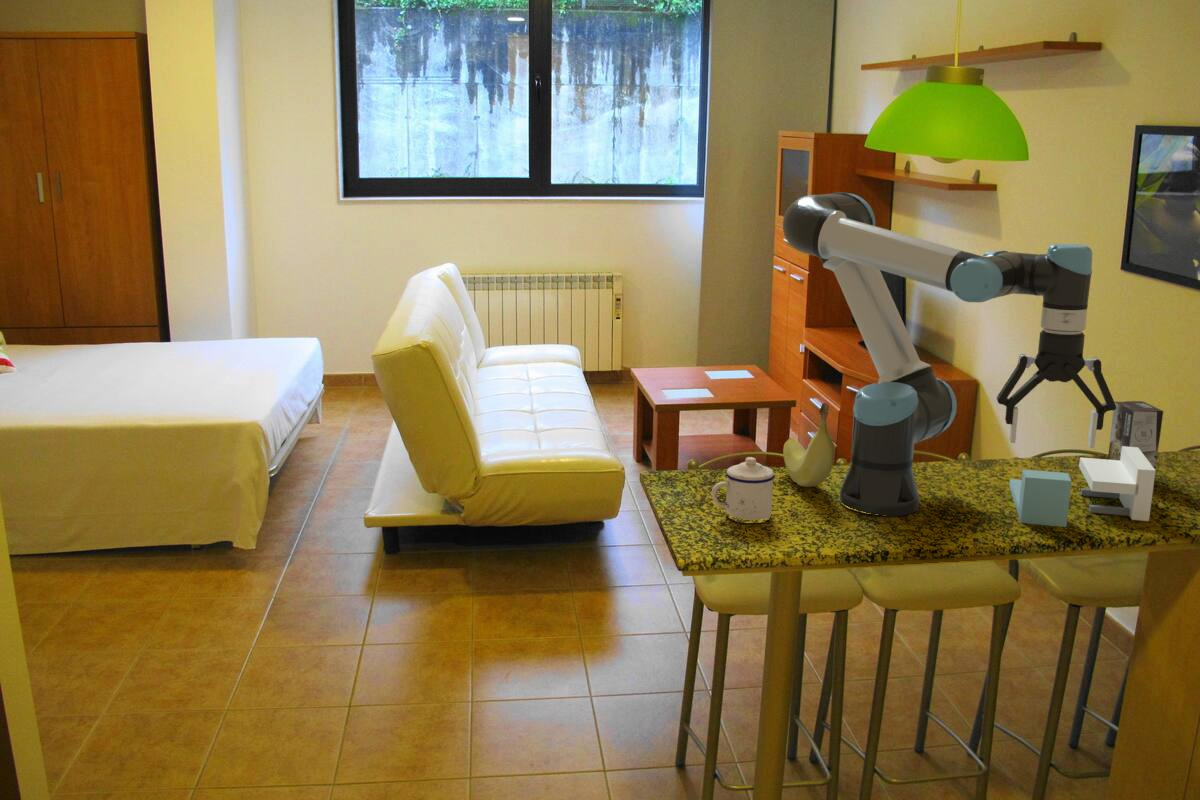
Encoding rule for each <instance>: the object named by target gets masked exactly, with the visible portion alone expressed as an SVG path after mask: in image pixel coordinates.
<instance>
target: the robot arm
mask: <svg viewBox="0 0 1200 800" xmlns="http://www.w3.org/2000/svg"><path fill="white" fill-rule="evenodd" d="M782 231H783V235H784V237H785V239H786V241H787V242H788V244H789V245H790V246H791V247H792V249H795V250H796V251H798V252H800V253H803V254H807V255H810V256H813V257H814V256H815V257H818V258H819V260H820V263H821V265H822V267H823V268H824V269H827V270H830V271H831V272H833V273H834V276H835V278H836V280H837V283H838V285H839V286H840V289H841V292H842V294H843V296H844V299H845V301H846V302H847V303H846V304H847V305H848V307H849V309H850V312H851V314H852V317H853V318H854V319H853V320H854V321H855V323H856V326H857V328H858V331H859V332H860V335H861V337H862V339H863V342H864V344H865V347H866V349H867V351H868V354H869V355H870V358H871V360H872V363H873V364H874V366H875V370H876V371H877V374H878V376H879V380H878V382H875V383H871V384H867V385H865V386H862V387H861V388H860V389H859V390H858V391H857V392H856V395H855V397H854V398H855V399H854V404H853V407H852V408H853V409H852V413H853V416H852V417H853V418H852V419H853V422H852V439H851V453H850V455H851V457H850V465H849V467H848V470H847V472H846V474H845V477H844V479H843V482H842V484H841V487H840V489H839V499H840V501H841V503H843V504H844V505H846V506H848V507H850V508H853V509H856V510H858V511H863V512H866V513H871V514H878V515H886V516H885V517H901V516H907V515H911V514H913V513H916V512H917V511H918V510H919V505H920V503H919V502H920V494H919V491H918V486H917V483H916V478H915V475H914V470H913V458H914V450H915V449H914V447H915V444H918V443H920V442H922V441H923V442H924V441H925V440H927V439H928V440H930V439H933V438H935V437H937V436H939V435H940V434H942V433H943V432H944V431H946V430H947V429H948V428H950V426H951V424H952V423H953V421H954V419H955V416H956V414H957V407H958V406H957V403H958V402H957V397H956V394H955V393H954V391H953V389H952V387H951V386H950V385H949V384H948V383H947V382H945V381H943V380H942V379H940V378H938V377H936V374H935V372H934V369H933V367H932V365H931V364H930V363H927V362H925V361H922V360H921V359H920V357H919V355H918V353H917V351H916V348H915V346H914V344H913V342H912V339H911V336H910V335H909V332H908V329H907V328H906V326H905V324H904V321H903V319H902V317H901V315H900V312H899V310H898V308H897V306H896V303H895V301H894V299H893V297H892V294H891V291H890V290H889V288H888V285H887V283H886V281H885V279H884V276H883V274H882V271H883V272H886V273H889V274H892V275H894V276H898V277H902V278H905V279H908V280H912V281H916V282H919V283H922V284H924V285H929V286H932V287H935V288H939V289H942V290H944V291H948V292H951V293H953V294H954V295H955V296H956V297H957V298H958V299H960V300H961V301H964V302H967V303H985V302H987V301H989V300H992V299H996V298H1000V297H1004V296H1009V295H1026V296H1027V295H1029V296H1030V295H1031V296H1037V297H1040V296H1041V297H1042V307H1041V308H1042V309H1041V319H1040V327H1041V328H1042V330H1041V331H1040V332H1039V340H1038V349H1037V354H1036V356H1029V355H1026V354H1025V353H1021V354H1019V356H1018V360H1017V361H1018V362H1017V365H1016V367H1015V368H1014V370H1013V371H1012V372H1011V374H1010V375H1009V378H1008V379H1007V381H1006V382H1005V384H1004V385H1003V386H1002V388H1001V390H1000V391H999V392H998V394H997V396H996V400H997V403H998V404H1000V405H1003V406H1005V407H1006V408H1005V417H1004V419H1005V424H1007V425H1010V431H1009V441H1010V443H1011V444H1016V439H1017V428H1018V415H1019V408H1018V403H1019V404H1020V402H1021V400H1023V399H1024V398H1025V397H1026V396H1027V395H1029V394H1030V393H1031V392H1032V391H1033V390H1034V389H1035V388H1036V387H1037V386H1038V385H1039V384H1041V383H1043V381H1044V380H1047V381H1048V382H1053V383H1054V382H1061V383H1068V382H1071V381H1074V383H1075V384H1076V386H1077V387H1078V388H1079V389H1080V391H1082V393H1083V394H1084V395H1085V397H1086V398H1087V400H1088V401H1089V402H1090V403H1091V404H1092V406H1093V407H1094V408H1095V410H1094V409H1092V410H1090V417H1089V426H1088V433H1087V434H1088V435H1087V446H1088V447H1089V448H1090V449H1095V446H1096V437H1097V431H1098V430H1099V431H1101V430H1102V429H1103V427H1104V419H1105V414H1106V413H1107V412H1109V411H1112V412H1113V410H1115V409H1116V405H1115V402H1116V401H1115V400H1114V398H1113V395H1112V393H1111V391H1110V389H1109V387H1108V383H1107V382H1106V379H1105V377H1104V374H1103V373H1102V361H1101V359H1099V358H1098V357H1096V356H1095V357H1092V358H1088V359H1087V358H1086V359H1085V358H1084V347H1085V345H1084V344H1085V334H1084V332H1083V331H1085V330H1086V326H1087V315H1088V306H1089V297H1090V289H1091V287H1090V286H1091V281H1092V280H1091V279H1092V275H1093V269H1092V268H1093V267H1092V266H1093V250H1092V249H1091V247H1089V246H1088V245H1083V244H1074V243H1067V244H1066V243H1055V244H1054V243H1053V244H1050V245H1049V246H1048V247H1047V252H1046V253H1044V254H1042V253H1040V254H1039V253H1038V254H1037V253H1027V252H1015V251H1008V250H998V251H995V250H994V251H993V250H991V251H987V252H985V253H984V254H982V255H979V254H976V253H973V252H972V253H971V252H968V251H964V250H961V249H958V248H955V247H950V246H947V245H945V244H940V243H937V242H936V243H935V242H932V241H930V240H926V239H922V238H918V237H915V236H910V235H908V234H904V233H901V232H897V231H894V230H889V229H887V228H883V227H880V226H876V217H875V214H874V210H873V209H872V207H871V205H870V204H869V203H868V202H867V201H866V200H865V199H864V198H862V197H861V196H859V195H857V194H854V193H848V192H844V191H843V192H840V191H839V192H832V193H825V194H810V195H804V196H802V197H799V198H797V199H796V200H795V201H794V202H792V203H791V204H790V206H789V207H788V208H787V209H786V211H785V213H784V216H783V220H782ZM1032 364H1033V365H1035V366H1036V367H1037V369H1038V370H1037V371H1036V372H1035V373H1034V374H1032V377H1030V378H1028V380H1027V381H1026V382H1025V383H1024V384H1023V385H1022V386H1021V387H1020V388H1018V390H1016V391H1015V392H1014V393H1013V394H1012V395H1011V396H1010V394H1011V393H1012V391H1013V390H1014V388H1015V387H1016V385H1018V382H1019V380H1020V379H1021V377H1022V376H1023V375H1024V373H1025V370H1026V369H1028V368H1030V367H1031V365H1032ZM1084 367H1087V370H1089V371H1090V372H1092V373H1093V377H1094V379H1095V381H1096V383H1097V386H1098V388H1099V391H1100V392H1101V395H1102V398H1103V399H1104V402H1103V403H1101V402H1100V400H1099V399H1098V398H1097V397H1096V395H1095V394H1094V393H1093V392H1092V390H1091V389H1090V388H1089V387H1088V385H1087V384H1086V382H1085V381H1084V380H1083V379H1082V378H1081V376H1080V375H1079V374H1078V373H1080V372H1081V370H1083V368H1084ZM1009 396H1010V397H1009ZM840 501H839V502H840ZM841 503H840V504H841Z"/></svg>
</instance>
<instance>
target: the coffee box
mask: <svg viewBox="0 0 1200 800" xmlns="http://www.w3.org/2000/svg"><path fill="white" fill-rule="evenodd" d="M1114 402H1115V405H1116V409H1115V410H1113V411H1112V420H1111V429H1110V437H1109V447H1108V456H1107V460H1120V457H1121V449H1122V446H1126V447H1138V448H1139V449H1140V451H1141V452H1142V453H1143V455H1144V456H1145V457H1146V458H1147V460H1148V461H1149V462H1150V464H1151V465H1152V466H1153V468H1154V469H1155V470H1156V469H1157V463H1158V462H1157V461H1158V455H1159V447H1160V446H1159V445H1160V437H1161V432H1162V424H1163V417H1164V411H1163V410H1162V409H1159V408H1158V407H1156V406H1153V405H1151V404H1150V403H1147V402H1145V401H1140V400H1137V401H1136V400H1131V401H1130V400H1129V401H1127V400H1126V401H1114ZM1156 471H1157V470H1156Z"/></svg>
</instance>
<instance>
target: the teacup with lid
mask: <svg viewBox="0 0 1200 800" xmlns="http://www.w3.org/2000/svg"><path fill="white" fill-rule="evenodd" d="M725 476H726V481H720V482H717V483H716V484H714V486H713V487H712V489H711V497H712V501H713V503H715V505H716V506H718V507H720V508H723V509H725V513H726V512H727V513H728V514H729V515H731V516H733V517H737V518H741V519H746V520H760V519H765V518H768V517H769V516H771V514H772V512H773V511H772V510H773V492H774V491H773V489H774V479H775V477H776V476H775V472H774V470H772V469H771V468H770V467H768V466H765V465H763V464H761V463H759V462H757V459H756V458H755V457H752V456H747V457H746V458H745V461H742V462H740V463H739V464H735V465H732V466H729V467H728V468H727V470H726V472H725ZM723 487H726V496H725V497H726V500H725V502H720V501H719V500H718V498H717V492H718V490H719V489H720V488H723ZM772 515H773V514H772ZM771 517H772V516H771Z"/></svg>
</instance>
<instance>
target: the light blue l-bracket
mask: <svg viewBox="0 0 1200 800" xmlns="http://www.w3.org/2000/svg"><path fill="white" fill-rule="evenodd" d="M1008 487H1009V489H1010V492H1011V495H1012V499H1013V502H1014V505H1015V508H1016V512H1017V515H1018V519H1019V522H1020V524H1029V525H1030V524H1031V525H1039V526H1041V525H1042V526H1053V527H1063V528H1064V527H1065V528H1067V526H1068V515H1069V509H1070V500H1071V499H1070V498H1071V490H1072V489H1071V488H1072V479H1071V477H1070V475H1069V473H1068V472H1057V471H1047V470H1046V471H1045V470H1033V469H1022V473H1021V479H1015V478H1009V486H1008Z"/></svg>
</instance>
